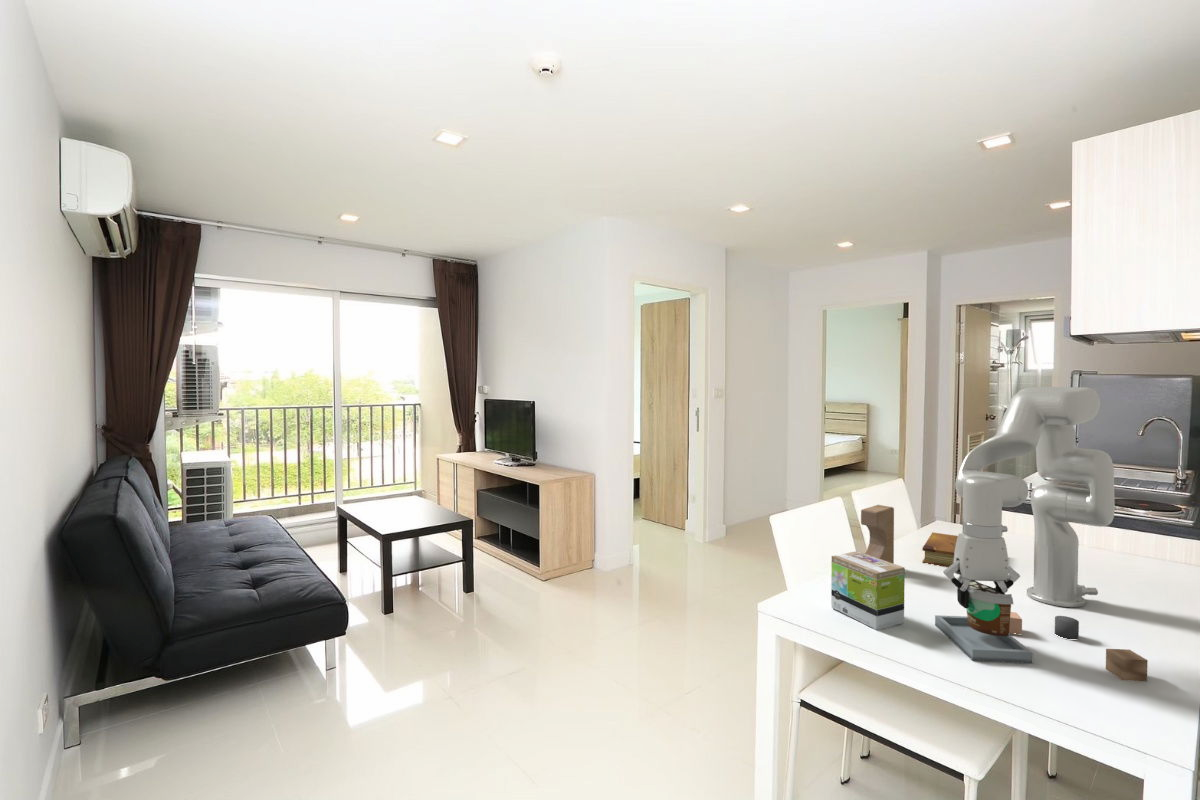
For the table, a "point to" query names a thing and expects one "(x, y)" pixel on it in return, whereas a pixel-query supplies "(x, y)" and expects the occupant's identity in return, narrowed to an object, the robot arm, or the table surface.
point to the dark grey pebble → (1066, 627)
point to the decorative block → (880, 531)
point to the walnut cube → (1126, 665)
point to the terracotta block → (1015, 623)
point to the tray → (982, 642)
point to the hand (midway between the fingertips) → (980, 606)
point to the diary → (940, 549)
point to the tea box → (868, 589)
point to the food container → (988, 609)
